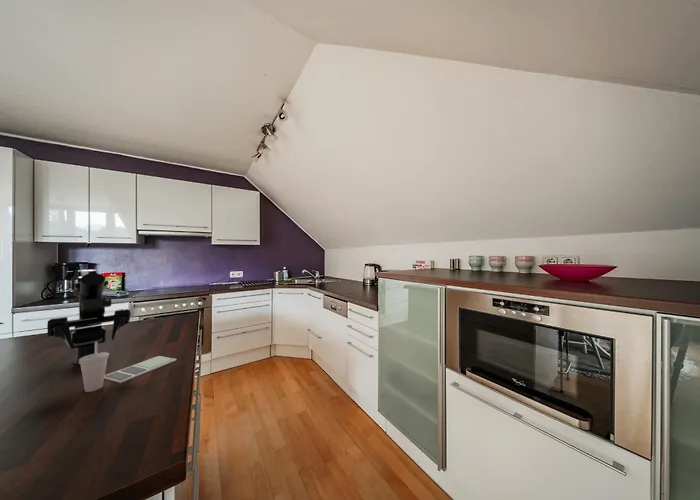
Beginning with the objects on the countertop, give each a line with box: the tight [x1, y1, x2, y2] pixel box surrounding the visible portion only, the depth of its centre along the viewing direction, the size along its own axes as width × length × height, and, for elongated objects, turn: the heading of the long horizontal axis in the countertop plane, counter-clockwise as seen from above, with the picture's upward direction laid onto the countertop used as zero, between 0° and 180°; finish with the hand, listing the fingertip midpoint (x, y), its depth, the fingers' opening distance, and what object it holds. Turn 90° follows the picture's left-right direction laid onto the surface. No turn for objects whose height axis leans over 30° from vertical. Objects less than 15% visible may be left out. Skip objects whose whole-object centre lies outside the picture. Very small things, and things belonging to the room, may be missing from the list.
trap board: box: [104, 355, 177, 384], centre depth 86 cm, size 10×18×1 cm, turn 161°
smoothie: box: [79, 342, 110, 393], centre depth 73 cm, size 6×6×14 cm
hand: (93, 343), depth 77 cm, fingers open, 9 cm apart
